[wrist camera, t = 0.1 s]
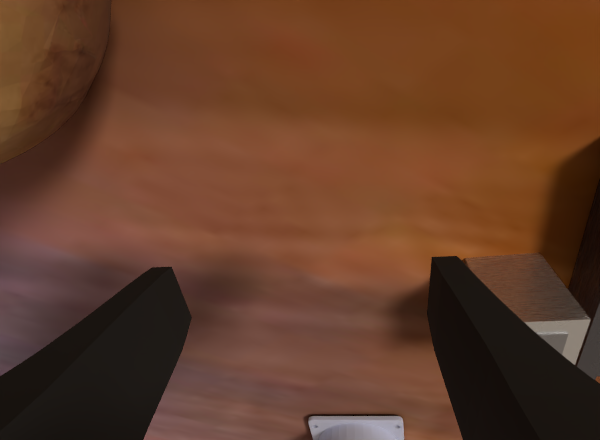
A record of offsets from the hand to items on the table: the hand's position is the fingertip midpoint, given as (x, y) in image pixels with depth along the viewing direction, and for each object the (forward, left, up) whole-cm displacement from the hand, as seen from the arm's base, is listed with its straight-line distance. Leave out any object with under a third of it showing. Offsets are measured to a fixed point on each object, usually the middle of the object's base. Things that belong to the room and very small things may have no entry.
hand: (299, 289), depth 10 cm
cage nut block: (-10, -10, -10) cm, 17 cm away
